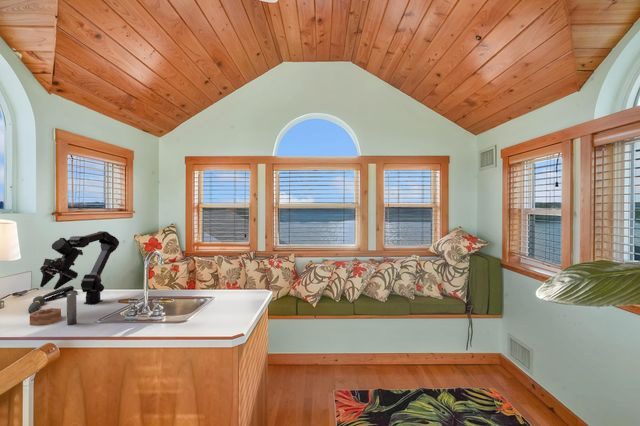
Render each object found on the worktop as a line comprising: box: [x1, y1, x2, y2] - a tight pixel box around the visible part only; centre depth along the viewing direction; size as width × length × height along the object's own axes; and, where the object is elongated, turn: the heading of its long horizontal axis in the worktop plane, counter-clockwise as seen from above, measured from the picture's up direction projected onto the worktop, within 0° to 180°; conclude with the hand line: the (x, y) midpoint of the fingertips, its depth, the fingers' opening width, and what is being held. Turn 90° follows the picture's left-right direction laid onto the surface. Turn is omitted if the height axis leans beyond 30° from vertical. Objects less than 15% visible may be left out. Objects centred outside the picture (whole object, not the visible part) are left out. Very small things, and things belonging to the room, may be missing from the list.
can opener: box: [42, 285, 78, 303], centre depth 191 cm, size 18×7×6 cm, turn 162°
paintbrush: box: [27, 295, 46, 314], centre depth 173 cm, size 20×5×5 cm, turn 32°
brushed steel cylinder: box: [66, 293, 78, 326], centre depth 152 cm, size 4×4×14 cm
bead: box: [29, 307, 62, 326], centre depth 155 cm, size 11×11×4 cm
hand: (47, 288), depth 157 cm, fingers open, 9 cm apart
